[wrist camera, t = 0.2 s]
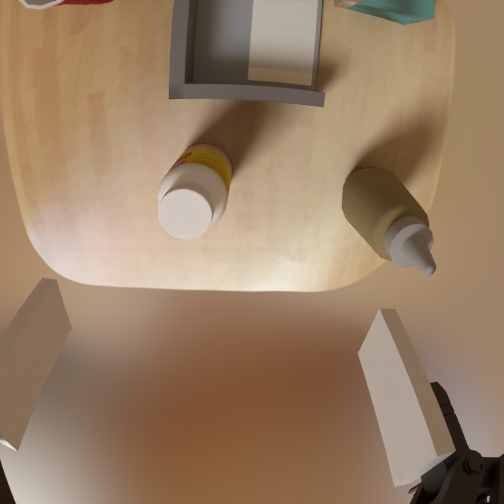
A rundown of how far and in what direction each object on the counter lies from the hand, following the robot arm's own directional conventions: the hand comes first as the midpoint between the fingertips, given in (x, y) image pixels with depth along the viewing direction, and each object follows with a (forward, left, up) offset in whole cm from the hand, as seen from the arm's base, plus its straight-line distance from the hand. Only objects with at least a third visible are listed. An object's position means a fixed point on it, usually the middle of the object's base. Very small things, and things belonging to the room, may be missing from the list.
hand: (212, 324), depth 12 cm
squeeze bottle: (+3, +16, -28) cm, 32 cm away
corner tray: (-15, +1, -28) cm, 31 cm away
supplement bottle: (+2, -4, -28) cm, 28 cm away
